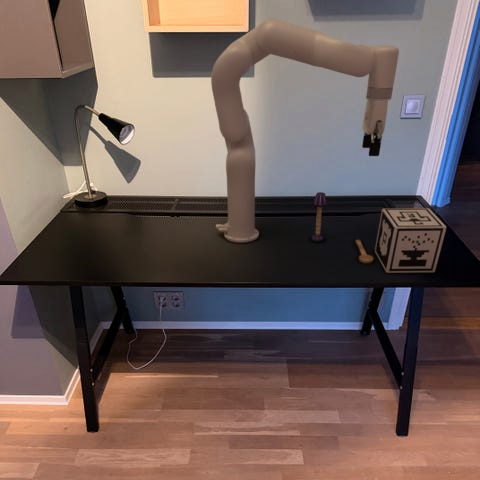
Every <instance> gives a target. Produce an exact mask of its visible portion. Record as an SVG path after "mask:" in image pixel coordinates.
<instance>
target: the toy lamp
mask: <svg viewBox="0 0 480 480" xmlns="http://www.w3.org/2000/svg"><path fill="white" fill-rule="evenodd" d="M312 205H313V207H316V209H317V210H316V219H315V221H316V222H315V233H314V234H313V235H312V236H311V241H312V242H314V243H320V242H323V241H324V236H323V235H322V234H321V229H322V228H321V226H322V212H323V210H322V209H323V208H325V207H327V206H328V201H327V196H326V193H325V192H323V191H320V192H319V191H318V192H316V193H315V196H314V199H313V203H312Z"/></svg>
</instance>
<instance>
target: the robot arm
mask: <svg viewBox="0 0 480 480" xmlns="http://www.w3.org/2000/svg"><path fill="white" fill-rule="evenodd" d="M270 55H273V56H275V57H279V58H283V59H287V60H292V61H296V62H299V63H302V64H306V65H308V66H309V65H310V66H312V67H317V68H322V69H325V70H330V71H332V72H336V73H340V74H342V75H343V74H344V75H347V76H351V77H355V78H363V77H366V76H368V79H367V85H366V94H365V99H366V103H365V108H364V114H363V119H362V126H361V129H362V130H363V139H362V145H361V147H362V149H368V156H369V157H379V156H380V154H381V153H380V152H381V147H382V146H381V145H382V142H383V141H382V139H383V134H384V131H385V127H386V122H387V114H388V107H389V106H388V105H389V101H391V100H392V98H393V97H392V96H393V91H394V85H395V78H396V73H397V65H398V60H399V55H400V50H399V48H398V46H395V45H377V46H371V45H364V44H354V43H351V42H348V41H345V40H341V39H339V38H338V39H337V38H335V37H332V36H329V35H327V34H325V33H324V32H322V31H318V30H315V29H312V28H307V27H304V26H301V25H297V24H293V23H289V22H285V21H282V20H278V19H276V18H267V19H266V20H264V21H262V22H261V23H259V24H258V25H257V26H255V27H254V28H253V29H251V30H250V31H248V32H247V33H245V34H244V35H242V36H240V37H239V38H237V39H236V40H234V41H233V42H232V43H230V44H229V45H228V46H227V47H226V49H224V50H223V51H222V53H221V54H220V55H219V57H218V58H217V59H216V61H215V63H214V64H213V67H212V70H211V77H210V85H211V91H212V96H213V101H214V107H215V111H216V116H217V120H218V127H219V128H218V129H219V132H220V134H221V136H222V137H223V138H224V141H225V142H224V143H225V147H226V151H227V153H226V157H225V172H226V173H225V174H226V192H227V193H226V195H227V222H226V223H224V224H221V223H216V224H215V230H217V231H218V232H219V233H222V232H223V237H224V238H225V239H226V241H230V242H231V243H239V244H240V243H241V244H243V243H249V242H253V241H255V240H257V239H258V238H259V237H260V232H259V230H258V228H257V229H256V225H255V223H256V161H257V160H256V148H255V143H254V138H253V132H252V127H251V121H250V118H249V113H248V112H247V110H246V109H245V108H244V102H243V98H242V96H243V95H242V92H241V87H240V85H241V84H240V83H241V80H242V77H243V76H244V75H245V74H247V73H248V72H249V70H250V69H251V67H253V66H254V65H257V63H259V62H261V61H262V60H264V59H265V58H267V57H268V56H270Z"/></svg>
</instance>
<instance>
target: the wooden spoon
mask: <svg viewBox="0 0 480 480" xmlns="http://www.w3.org/2000/svg"><path fill="white" fill-rule="evenodd" d="M354 243H355V245H356V246H357V248H358V250H359V254H360V255H359V256H358V261H359V262H360V263H362V264H372V263H373V261H374V257H373V256H372V255H370V254H367V252H366V250H365V248H364V246H363V243H362V240H361V239H356V240H355V242H354Z"/></svg>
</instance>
